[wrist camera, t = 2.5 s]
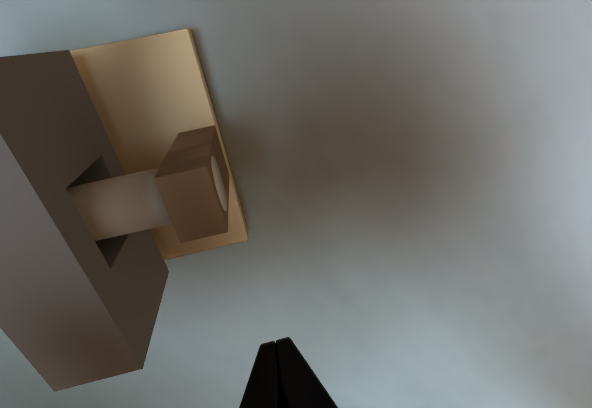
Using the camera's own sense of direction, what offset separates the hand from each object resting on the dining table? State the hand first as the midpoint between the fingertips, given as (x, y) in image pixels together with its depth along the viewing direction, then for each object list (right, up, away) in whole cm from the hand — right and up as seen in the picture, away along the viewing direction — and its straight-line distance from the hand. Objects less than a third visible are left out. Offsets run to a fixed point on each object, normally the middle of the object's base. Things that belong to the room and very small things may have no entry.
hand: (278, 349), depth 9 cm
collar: (-8, +5, +5) cm, 10 cm away
